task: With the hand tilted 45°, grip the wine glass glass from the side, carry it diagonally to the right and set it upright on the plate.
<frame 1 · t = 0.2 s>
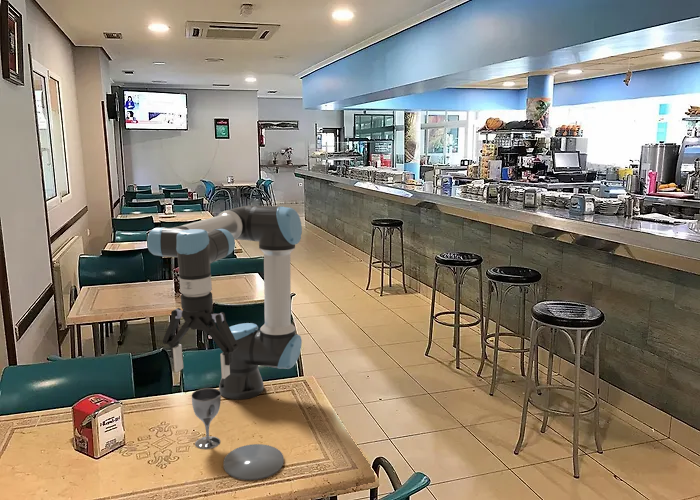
hand: (202, 373, 147), 27 cm above the table, tool pointing down, fingers open, 13 cm apart
plate: (253, 463, 157), on the table
wine glass: (207, 443, 166), on the table
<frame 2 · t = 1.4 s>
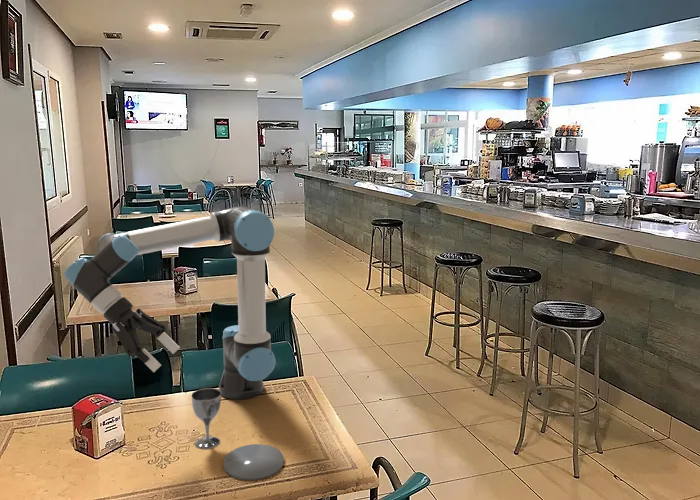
hand: (167, 359, 162), 25 cm above the table, tool tilted 45°, fingers open, 13 cm apart
nothing on the table moved.
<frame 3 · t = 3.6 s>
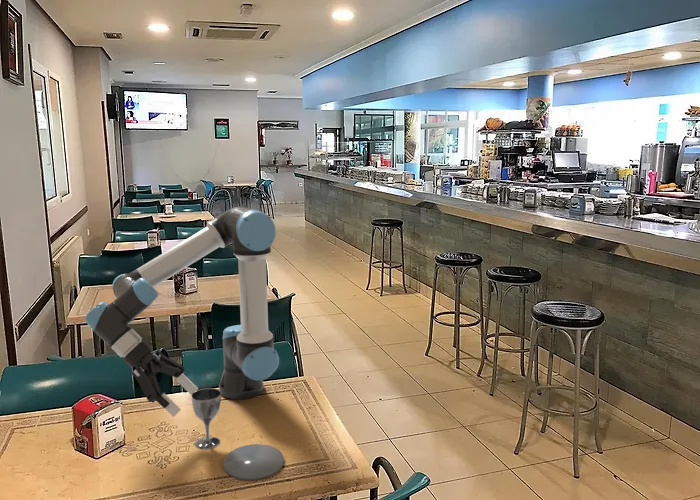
hand: (186, 402, 164), 13 cm above the table, tool tilted 45°, fingers open, 13 cm apart
nothing on the table moved.
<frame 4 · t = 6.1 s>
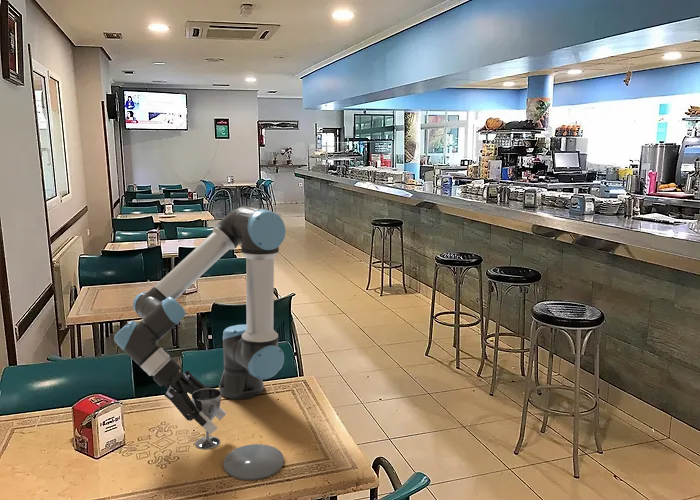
hand: (218, 423, 165), 6 cm above the table, tool tilted 45°, fingers closed on wine glass, 8 cm apart
wine glass: (207, 443, 166), on the table, touching gripper
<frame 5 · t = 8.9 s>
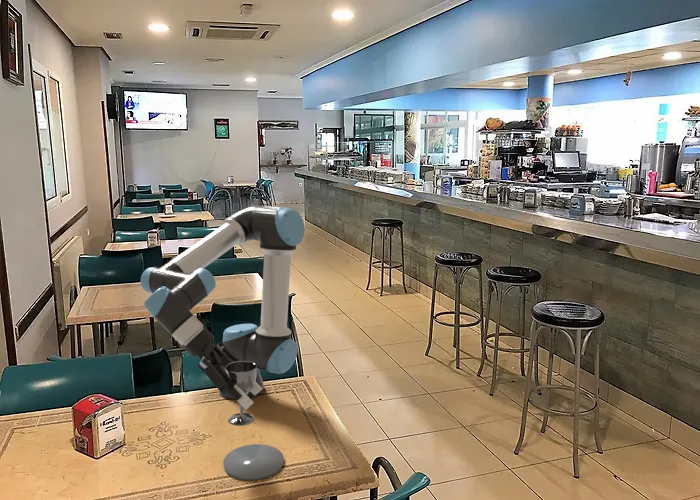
hand: (254, 399, 153), 19 cm above the table, tool tilted 45°, fingers closed on wine glass, 8 cm apart
wine glass: (241, 420, 155), point 12 cm above the table, touching gripper
when the fingers open (9 cm above the table, at t = 11.9 s): wine glass drops 1 cm, resting on plate.
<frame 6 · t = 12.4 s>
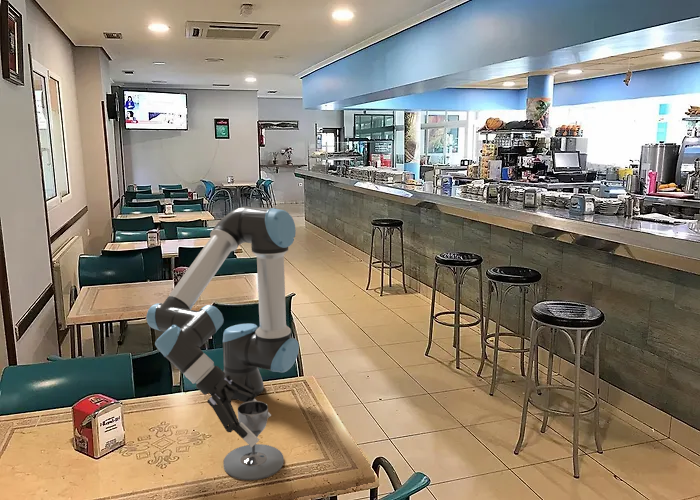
hand: (261, 430, 154), 10 cm above the table, tool tilted 45°, fingers open, 13 cm apart
wine glass: (253, 459, 157), point 1 cm above the table, touching plate
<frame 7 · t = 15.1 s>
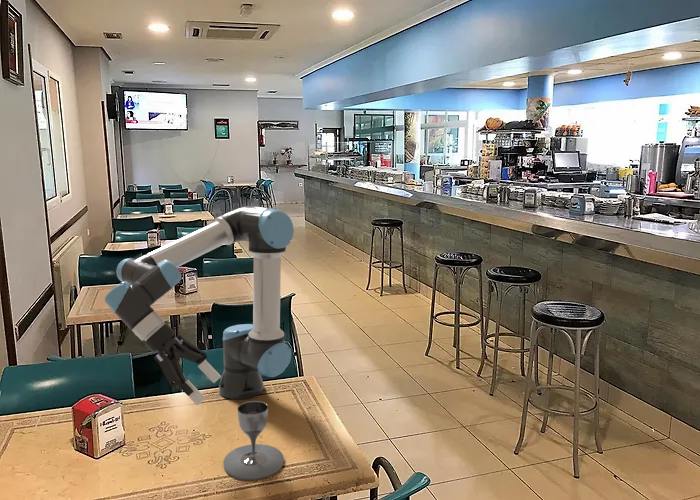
hand: (209, 390, 155), 20 cm above the table, tool tilted 45°, fingers open, 13 cm apart
nothing on the table moved.
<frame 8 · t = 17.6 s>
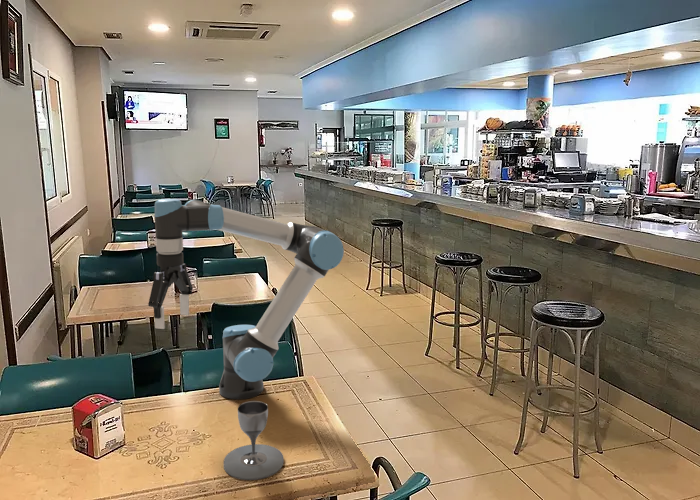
hand: (172, 321, 174), 32 cm above the table, tool pointing down, fingers open, 13 cm apart
nothing on the table moved.
at the end: wine glass 0.3 cm from the plate (horizontally); wine glass tilted 0°; the gripper is holding nothing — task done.
